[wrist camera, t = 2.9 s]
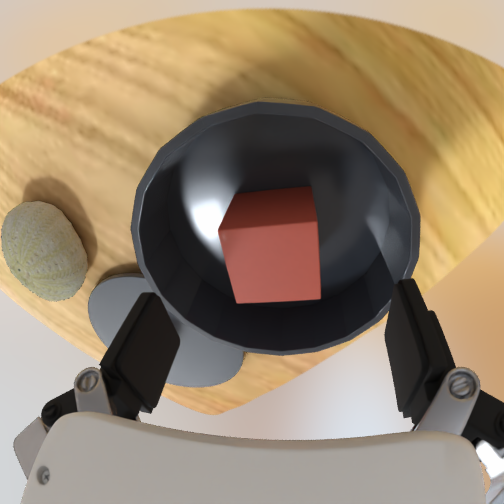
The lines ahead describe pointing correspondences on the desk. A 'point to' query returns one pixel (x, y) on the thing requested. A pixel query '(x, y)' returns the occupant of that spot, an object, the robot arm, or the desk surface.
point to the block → (272, 245)
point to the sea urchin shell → (44, 250)
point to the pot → (270, 178)
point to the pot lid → (191, 342)
